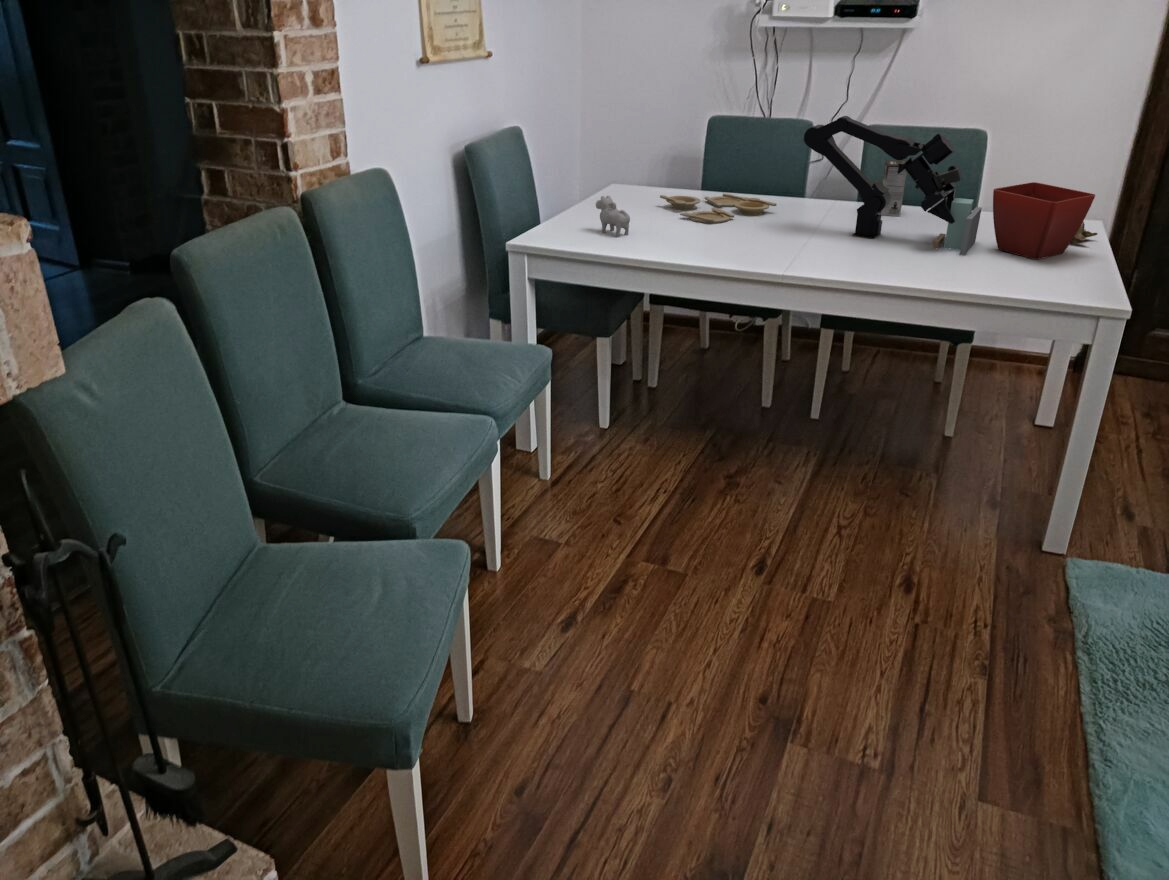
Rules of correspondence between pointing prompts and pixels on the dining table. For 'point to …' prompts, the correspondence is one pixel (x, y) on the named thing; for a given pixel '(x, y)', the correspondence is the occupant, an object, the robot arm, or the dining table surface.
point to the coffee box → (894, 187)
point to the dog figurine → (612, 216)
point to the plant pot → (1038, 218)
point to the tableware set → (716, 215)
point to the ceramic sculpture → (1082, 235)
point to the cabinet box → (957, 222)
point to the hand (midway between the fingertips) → (956, 219)
